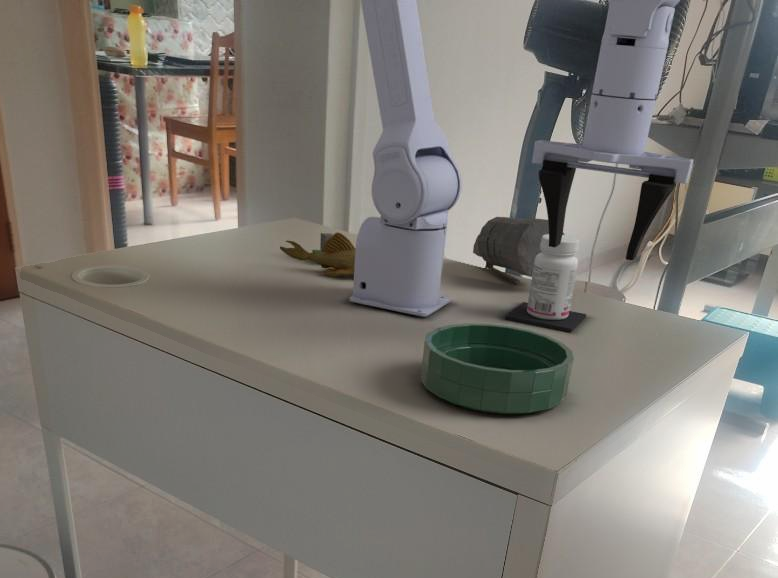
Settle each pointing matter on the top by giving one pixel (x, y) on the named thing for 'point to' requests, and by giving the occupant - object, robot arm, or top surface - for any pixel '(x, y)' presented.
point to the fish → (328, 255)
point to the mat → (564, 324)
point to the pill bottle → (553, 279)
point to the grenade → (511, 244)
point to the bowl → (496, 368)
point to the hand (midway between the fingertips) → (592, 251)
